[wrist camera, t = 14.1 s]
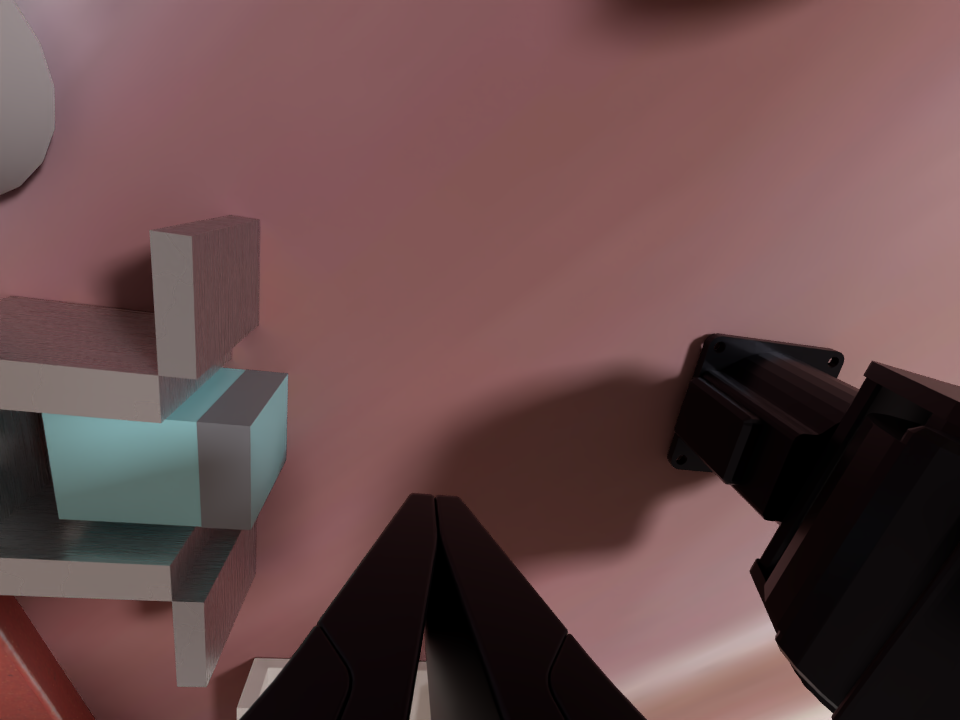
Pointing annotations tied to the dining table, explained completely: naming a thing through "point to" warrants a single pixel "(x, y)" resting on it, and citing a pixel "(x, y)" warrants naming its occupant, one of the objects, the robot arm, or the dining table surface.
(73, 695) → the plant saucer
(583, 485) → the dining table surface
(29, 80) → the can
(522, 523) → the dining table surface
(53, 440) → the plug
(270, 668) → the white flat channel piece
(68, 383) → the bracket
